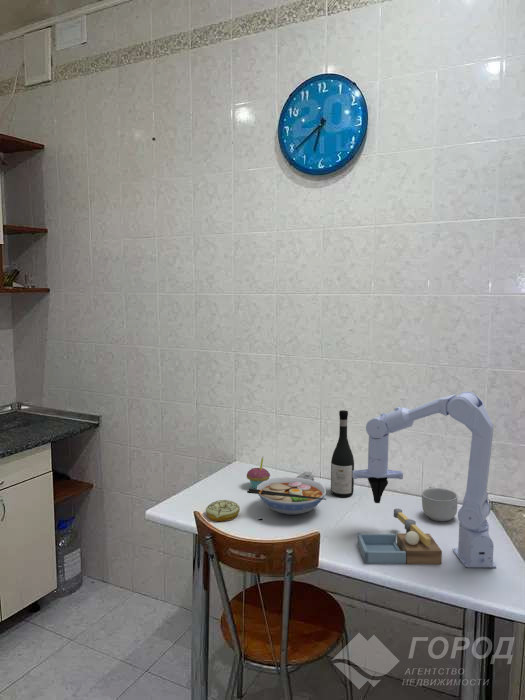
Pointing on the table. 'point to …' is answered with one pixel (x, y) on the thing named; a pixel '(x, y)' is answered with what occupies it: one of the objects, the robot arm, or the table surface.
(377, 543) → the shallow square tray
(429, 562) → the block
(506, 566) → the table surface
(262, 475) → the cupcake
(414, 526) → the lever
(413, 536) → the ball
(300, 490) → the ramen bowl
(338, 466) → the wine bottle
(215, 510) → the decorated donut
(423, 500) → the teacup
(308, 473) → the frog figurine
